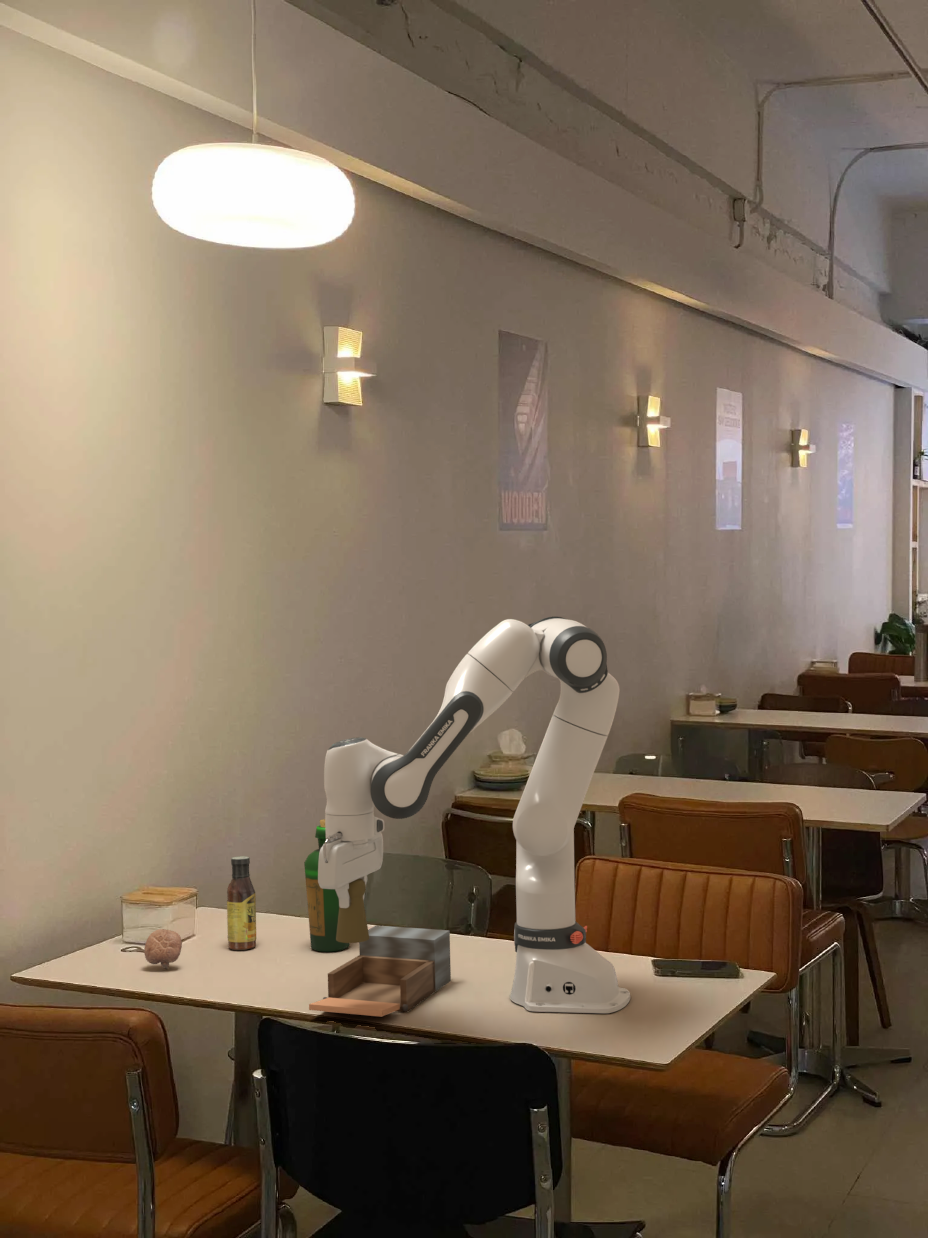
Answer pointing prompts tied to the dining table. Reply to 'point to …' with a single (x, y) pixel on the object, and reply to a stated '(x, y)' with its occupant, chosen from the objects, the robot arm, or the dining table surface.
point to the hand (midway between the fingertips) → (352, 904)
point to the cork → (353, 916)
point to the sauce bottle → (241, 906)
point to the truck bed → (395, 967)
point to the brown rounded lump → (163, 947)
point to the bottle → (321, 903)
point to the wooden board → (354, 1006)
